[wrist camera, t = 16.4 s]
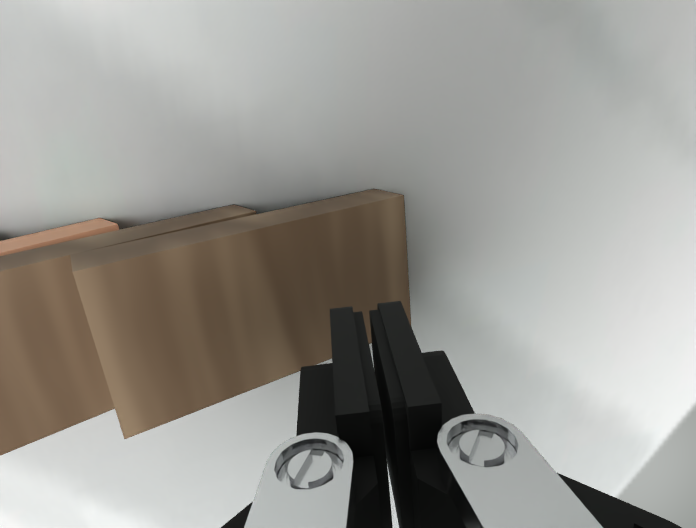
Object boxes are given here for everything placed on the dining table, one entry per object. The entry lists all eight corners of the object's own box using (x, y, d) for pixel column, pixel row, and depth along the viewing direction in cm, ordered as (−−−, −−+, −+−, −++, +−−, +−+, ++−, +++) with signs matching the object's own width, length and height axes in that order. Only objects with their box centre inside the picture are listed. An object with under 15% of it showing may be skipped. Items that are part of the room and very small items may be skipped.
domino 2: (403, 195, 16) (72, 271, 12) (411, 327, 18) (124, 439, 13) (374, 188, 18) (70, 254, 13) (383, 311, 19) (117, 407, 15)
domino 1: (255, 210, 16) (-146, 305, 11) (277, 341, 18) (-62, 480, 12) (233, 204, 18) (-132, 284, 12) (255, 326, 19) (-58, 445, 14)
